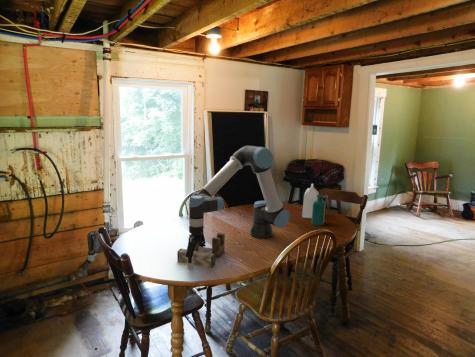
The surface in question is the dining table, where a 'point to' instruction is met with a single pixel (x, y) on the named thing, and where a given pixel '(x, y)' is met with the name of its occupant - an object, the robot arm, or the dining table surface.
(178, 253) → the rail
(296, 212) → the dining table surface
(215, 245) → the brown u-shaped block
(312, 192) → the milk
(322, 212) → the teal green bottle
